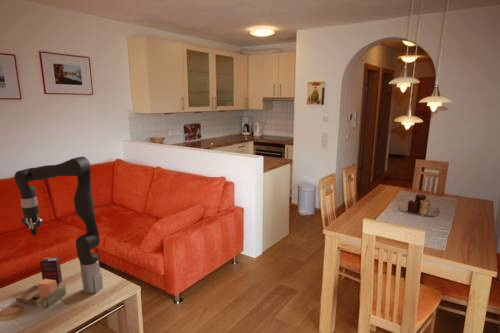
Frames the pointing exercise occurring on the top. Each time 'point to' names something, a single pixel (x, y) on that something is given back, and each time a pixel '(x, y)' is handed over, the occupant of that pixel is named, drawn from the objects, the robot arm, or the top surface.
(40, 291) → the block
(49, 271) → the supplement box
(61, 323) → the top surface
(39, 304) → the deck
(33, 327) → the top surface
